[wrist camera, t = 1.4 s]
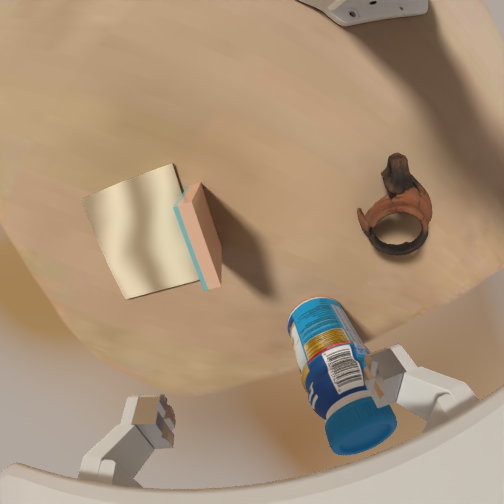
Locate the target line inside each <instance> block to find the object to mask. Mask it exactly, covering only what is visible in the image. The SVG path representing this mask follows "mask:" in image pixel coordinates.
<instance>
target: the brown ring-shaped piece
mask: <svg viewBox="0 0 504 504" xmlns="http://www.w3.org/2000/svg"><path fill="white" fill-rule="evenodd" d="M381 175H382V176H383V178H384V182H385V183H384V184H385V187H386V188H387V189H388V190H389V192H391V193H393V194H397V195H396V196H395V197H394V198H392V199H391V198H390V197H389V195H386V196H384V197H383V198H382V199H380V200H379V201H378V202H376V203H375V204H374V206H372V208H370V209H369V210H368V212H367V213H366V215H365V216H364V215H363V213H362V210H361V208H358V209H357V213H358V219H359V223H360V225H361V228H362V230H363V231H364V233H365V234H366V235H367V236H368V237H369V240H370V242H371V243H372V245H373V246H374V247H375V248H376V249H378V250H379V251H381V252H383V253H387V254H390V255H405V254H409V253H411V252H413V251H415V250H417V249H419V248H420V247H421V246H422V245H423V244H424V242H425V240H426V238H427V236H428V223H429V222H430V221H431V218H432V204H431V200H430V197H429V195H428V193H427V192H426V190H425V189H424V188H423V187H422V185H421V184H420V183H419V182H418V181H417V180H416V179H415V178H414V177H413V176H412V175H411V174H410V172H409V168H408V160H407V158H406V156H404V155H402V154H400V153H394V154H392V155H391V156H389V158H388V163H387V167H386V169H385V170H383V172H382V173H381ZM413 185H414V186H413ZM396 212H404V213H408V214H411V215H413V216H415V217H416V218H417V219H418V220H419V221H420V223H421V226H422V230H421V233H420V235H419V236H418V237H417V238H416V239H415V240H414V241H412V242H410V243H408V242H405V243H403V244H399V245H394V244H386V243H384V242H382V241H380V240H379V239H378V238H377V237H376V235H375V233H374V231H373V230H372V227H376V225H377V224H378V222H379V221H380V220H381V219H382V218H384V217H385V216H387V215H389V214H393V213H396Z"/></svg>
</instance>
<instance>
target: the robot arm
mask: <svg viewBox="0 0 504 504" xmlns="http://www.w3.org/2000/svg"><path fill="white" fill-rule="evenodd" d="M299 1H301V2H303V3H306V4H308V5H311V6H313V7H315V8H318V9H319V10H321V11H323V12H324V13H325V14H326V15H327V16H328V17H330V18H331V19H332V20H333V21H334V22H336V23H337V24H339V25H341V26H351V25H356V24H361V23H366V22H371V21H377V20H383V19H390V18H397V17H406V16H416V15H423V14H425V13H426V12H427V11H428V0H299ZM349 13H351V14H353V16H354V17H352V16H350V14H349ZM364 362H365V364H366V367H365V368H364V369H363V377H364V382H365V385H366V387H367V389H368V390H370V391H372V392H373V394H372V398H373V400H374V402H375V404H376V406H377V407H378V408H380V407H383V406H386V405H389V404H392V403H394V402H396V403H397V404H399V405H401V406H402V407H404V408H406V409H407V410H409V411H411V412H413V413H414V414H416V415H418V416H419V417H421V418H423V419H425V420H426V421H428V422H427V424H426V426H425V428H424V430H423V432H422V434H420V435H418V436H416V437H414V438H412V439H410V440H408V441H405V442H403V443H401V444H398V445H396V446H394V447H391V448H389V449H386V450H384V451H381V452H379V453H376V454H373V455H371V456H368V457H365V458H362V459H359V460H357V461H353V462H350V463H347V464H344V465H340V466H337V467H334V468H330V469H326V470H323V471H319V472H315V473H311V474H307V475H302V476H298V477H293V478H288V479H283V480H278V481H272V482H266V483H259V484H253V485H244V486H235V487H223V488H209V489H154V488H143V487H142V486H141V485H140V484H139V483H138V482H137V481H135V480H134V479H133V478H134V477H135V475H136V474H137V473H138V471H139V470H140V469H141V467H142V466H143V465H144V463H145V462H146V461H147V459H148V458H149V456H150V455H151V454H152V452H153V451H154V449H162V448H173V443H174V434H173V433H172V430H173V429H174V428H175V414H174V411H173V409H172V407H171V406H170V405H168V404H167V398H166V397H165V395H163V394H156V395H130V396H129V397H128V398H127V401H126V405H125V409H124V413H123V416H122V420H121V424H120V425H117V426H116V427H114V428H113V429H112V430H111V431H110V432H109V433H108V434H107V435H106V436H105V437H104V438H103V439H102V440H100V441H99V442H98V443H97V444H96V445H95V446H94V447H93V448H92V449H91V450H90V451H89V452H88V453H87V454H86V455H84V457H83V461H82V464H81V468H80V471H79V475H78V479H76V478H71V477H66V476H63V475H58V474H54V473H51V472H47V471H44V470H40V469H37V468H34V467H31V466H27V465H25V464H21V463H13V464H11V465H9V466H8V467H6V468H5V469H4V470H2V471H1V472H0V504H504V384H503V385H502V386H501V387H499V388H498V389H496V390H495V391H494V392H492V393H491V394H489V395H488V396H486V397H485V398H484V399H482V400H481V401H480V400H479V399H478V398H477V397H476V395H475V394H474V393H473V392H472V390H471V389H470V388H469V387H468V385H467V384H466V383H465V382H462V381H460V380H457V379H454V378H451V377H449V376H446V375H443V374H441V373H437V372H435V371H432V370H430V369H427V368H425V367H422V366H420V367H418V366H417V365H416V364H415V363H414V361H413V360H412V359H411V357H410V356H409V355H408V354H407V352H406V351H405V350H404V349H403V347H402V346H401V345H400V344H396V345H393V346H390V347H388V348H384V349H382V350H378V351H376V352H373V353H370V354H367V355H366V356H365V360H364Z"/></svg>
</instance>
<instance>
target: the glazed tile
mask: <svg viewBox="0 0 504 504" xmlns="http://www.w3.org/2000/svg"><path fill="white" fill-rule="evenodd" d="M173 209H174V212H175V215H176V217H177V220H178V223H179V226H180V229H181V231H182V234H183V237H184V239H185V242H186V245H187V248H188V250H189V253H190V256H191V258H192V261H193V263H194V266H195V269H196V271H197V274H198V276H199V279H200V281H201V284H202V286H203V289H204V291H206V290H210V289H214V288H217V287H221V272H222V246H221V243H220V240H219V237H218V234H217V231H216V228H215V225H214V222H213V219H212V216H211V213H210V210H209V207H208V203H207V200H206V197H205V194H204V191H203V188H202V184H201V183H197V184H194V185H191V186H188V187H187V188H186V189H185V190H184V192H183V193H182V195H181V196H180V198H179V199H178V201H177V202H176V204H175V205H174V207H173Z"/></svg>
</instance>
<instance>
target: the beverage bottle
mask: <svg viewBox="0 0 504 504" xmlns="http://www.w3.org/2000/svg"><path fill="white" fill-rule="evenodd" d="M288 332H289V335H290V338H291V341H292V344H293V348H294V351H295V355H296V358H297V362H298V365H299V369H300V372H301V379H302V384H303V387H304V389H305V390H306V392H307V393H308V400H309V403H310V405H311V407H312V408H313V410H314V411H315V412H316V413H317V414H318V415H319V416H320V417H322V418H323V419H325V420H326V421H325V431H326V435H327V438H328V441H329V444H330V447H331V449H332V450H333V452H335V453H336V454H338V455H352V454H357V453H360V452H363V451H366V450H369V449H371V448H373V447H375V446H377V445H378V444H380V443H381V442H383V441H384V440H386V439H387V438H388V437H389V436H390V435H391V434H392V433H393V432H394V430H395V429H396V426H397V421H396V417H395V415H394V413H393V411H392V409H391V407H390V405H386V406H383V407H380V408H378V407H377V406H376V404H375V402H374V400H373V398H372V394H373V392H372V391H370V390H368V389H367V387H366V385H365V382H364V377H363V369H364V368H365V367H366V364H365V362H364V360H365V356H366V355H367V354H370V351H369V350H368V349H367V348H366V346H365V345H364V344H363V342H362V340H361V339H360V337H359V335H358V334H357V332H356V330H355V329H354V327H353V325H352V324H351V322H350V320H349V319H348V317H347V315H346V314H345V312H344V310H343V308H342V307H341V305H340V304H339V303H338V302H337V301H335V300H334V299H331V298H328V297H315V298H311V299H308V300H306V301H304V302H302V303H301V304H300V305H298V306H297V307H296V308H295V309H294V310H293V312H292V313H291V315H290V317H289V320H288Z"/></svg>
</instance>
